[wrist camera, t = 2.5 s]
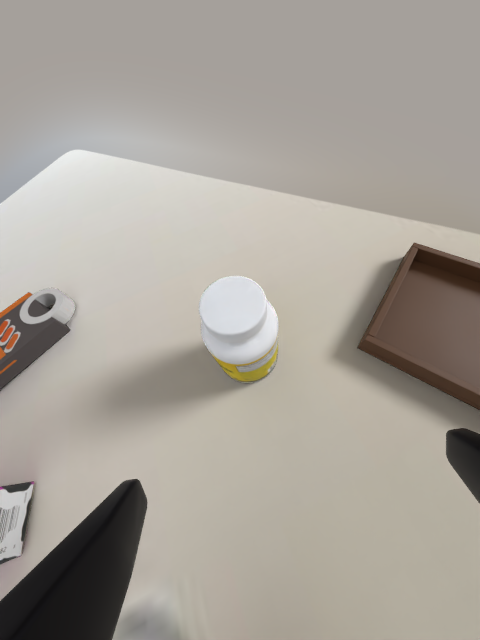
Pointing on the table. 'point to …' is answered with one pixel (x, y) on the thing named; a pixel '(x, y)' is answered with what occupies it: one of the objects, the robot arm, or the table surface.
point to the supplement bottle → (239, 328)
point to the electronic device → (31, 329)
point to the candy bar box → (14, 518)
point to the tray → (431, 322)
